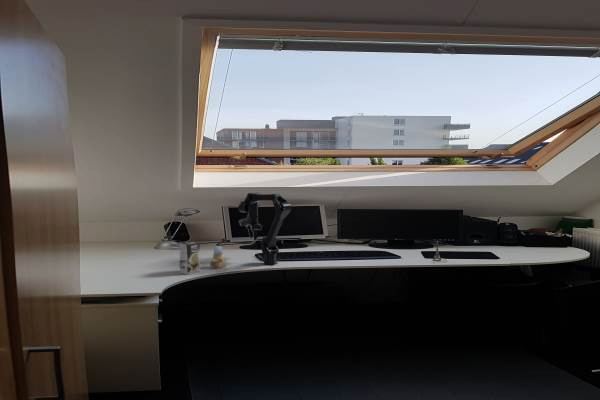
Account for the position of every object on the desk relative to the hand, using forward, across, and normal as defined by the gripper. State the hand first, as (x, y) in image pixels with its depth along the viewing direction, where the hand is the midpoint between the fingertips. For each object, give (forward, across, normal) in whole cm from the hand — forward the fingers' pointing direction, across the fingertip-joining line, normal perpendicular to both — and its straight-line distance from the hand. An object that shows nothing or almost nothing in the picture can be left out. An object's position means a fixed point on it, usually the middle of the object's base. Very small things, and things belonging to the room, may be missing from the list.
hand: (253, 239), depth 265 cm
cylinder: (+5, +11, -23) cm, 26 cm away
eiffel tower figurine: (+14, +38, +106) cm, 114 cm away
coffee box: (+13, +17, -40) cm, 45 cm away
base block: (+13, +11, -23) cm, 29 cm away
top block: (+9, +11, -23) cm, 27 cm away
